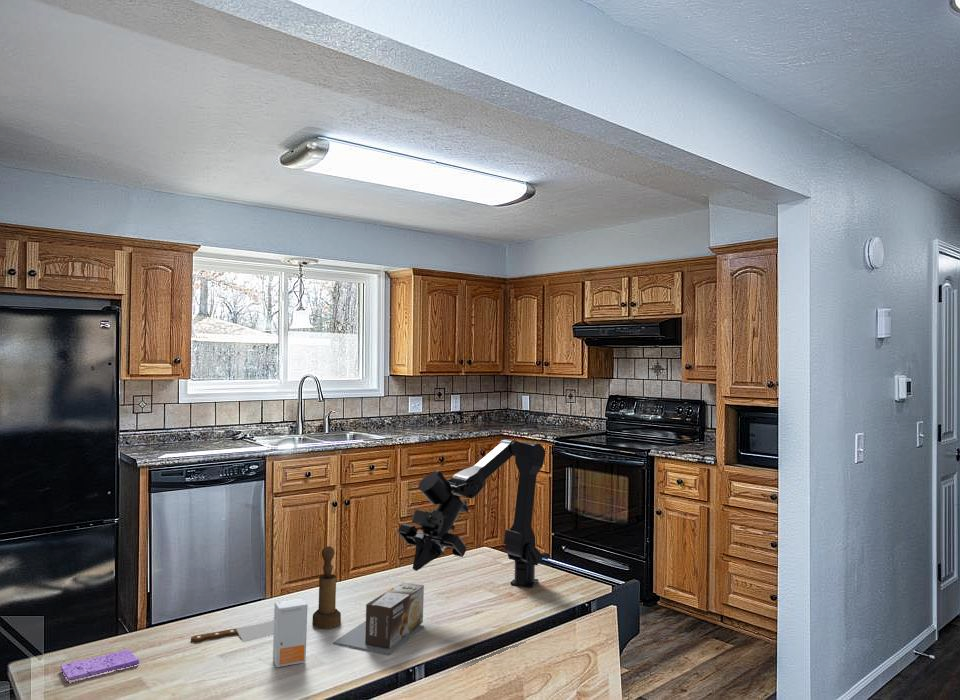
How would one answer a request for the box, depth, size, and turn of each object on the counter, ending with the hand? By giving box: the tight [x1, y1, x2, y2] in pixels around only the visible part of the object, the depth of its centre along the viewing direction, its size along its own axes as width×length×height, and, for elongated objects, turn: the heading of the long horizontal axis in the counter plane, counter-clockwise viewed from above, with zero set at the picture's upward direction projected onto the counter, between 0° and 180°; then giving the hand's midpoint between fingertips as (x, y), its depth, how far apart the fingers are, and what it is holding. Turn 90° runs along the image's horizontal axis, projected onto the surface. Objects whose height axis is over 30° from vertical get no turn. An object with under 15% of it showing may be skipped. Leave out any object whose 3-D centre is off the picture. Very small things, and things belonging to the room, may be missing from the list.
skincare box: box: [272, 598, 309, 668], centre depth 139 cm, size 6×4×12 cm
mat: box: [332, 620, 425, 656], centre depth 153 cm, size 16×14×1 cm
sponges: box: [60, 648, 140, 681], centre depth 135 cm, size 7×13×2 cm, turn 131°
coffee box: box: [365, 581, 425, 648], centre depth 154 cm, size 9×6×16 cm
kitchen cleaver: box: [190, 619, 274, 644], centre depth 153 cm, size 24×1×10 cm
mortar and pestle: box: [311, 545, 342, 630], centre depth 160 cm, size 7×6×18 cm
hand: (414, 569), depth 163 cm, fingers closed
